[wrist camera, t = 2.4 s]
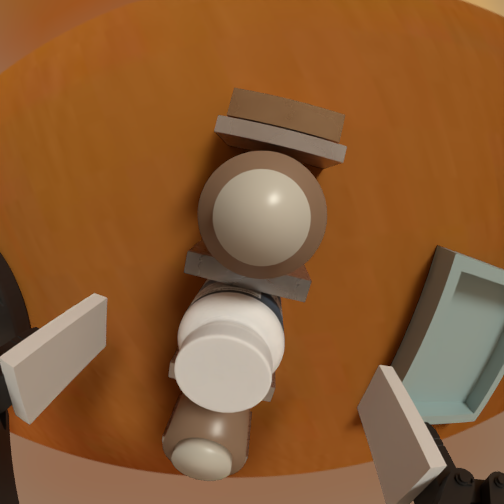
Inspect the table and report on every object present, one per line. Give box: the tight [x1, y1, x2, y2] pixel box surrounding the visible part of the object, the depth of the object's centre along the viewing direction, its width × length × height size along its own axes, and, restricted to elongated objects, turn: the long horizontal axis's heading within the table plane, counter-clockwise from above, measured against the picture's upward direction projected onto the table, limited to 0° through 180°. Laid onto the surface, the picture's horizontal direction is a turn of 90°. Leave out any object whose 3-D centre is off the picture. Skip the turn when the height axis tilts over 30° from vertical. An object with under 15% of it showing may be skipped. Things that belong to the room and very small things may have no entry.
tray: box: [391, 245, 504, 424], centre depth 19 cm, size 12×14×2 cm
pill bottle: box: [174, 279, 284, 413], centre depth 15 cm, size 5×5×9 cm
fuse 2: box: [198, 151, 327, 279], centre depth 14 cm, size 5×5×9 cm
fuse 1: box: [163, 393, 250, 481], centre depth 17 cm, size 5×5×9 cm
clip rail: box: [162, 88, 347, 463], centre depth 17 cm, size 6×25×5 cm, turn 166°
